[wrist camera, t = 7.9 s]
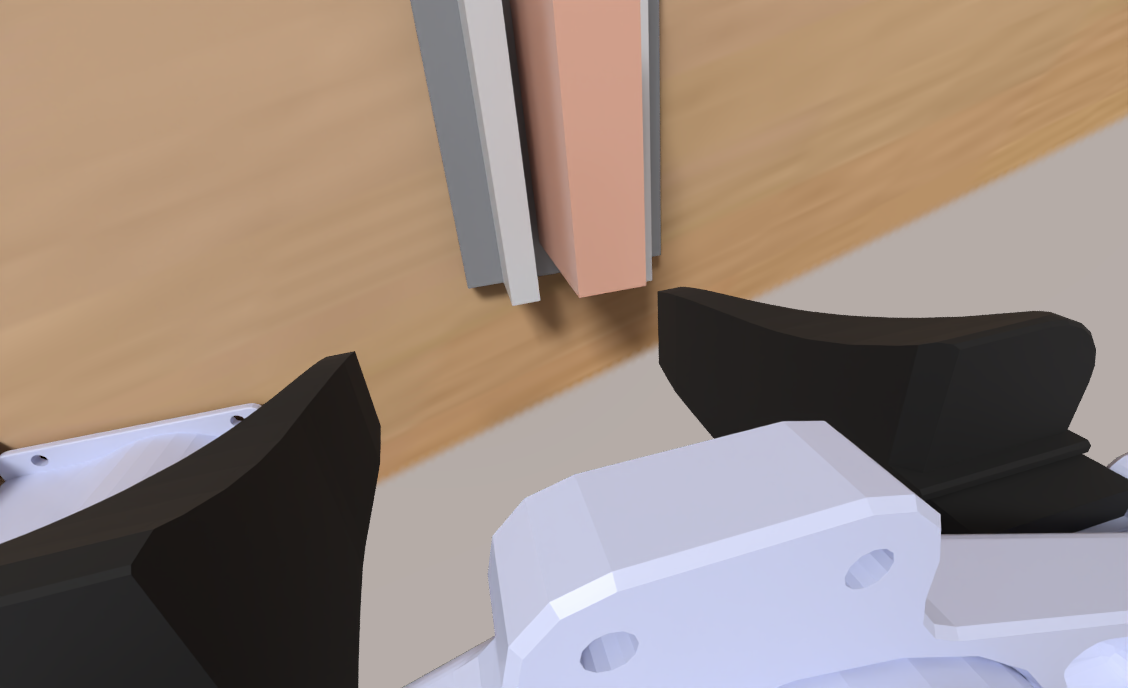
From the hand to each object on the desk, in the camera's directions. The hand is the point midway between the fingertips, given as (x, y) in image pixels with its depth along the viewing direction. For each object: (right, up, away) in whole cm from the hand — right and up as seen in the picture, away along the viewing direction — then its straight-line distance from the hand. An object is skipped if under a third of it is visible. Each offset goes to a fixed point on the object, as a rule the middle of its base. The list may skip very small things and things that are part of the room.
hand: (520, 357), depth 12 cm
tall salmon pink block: (+1, +8, +6) cm, 10 cm away
